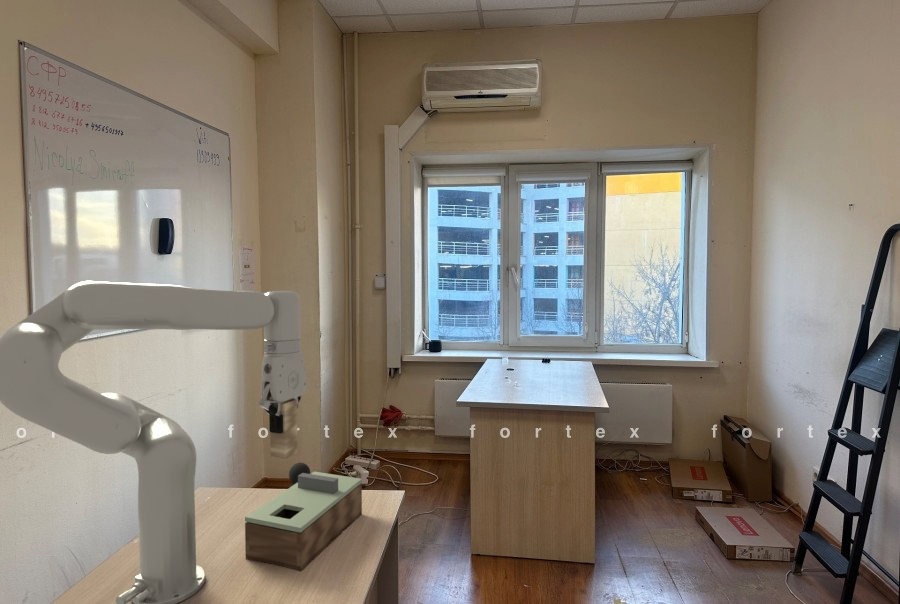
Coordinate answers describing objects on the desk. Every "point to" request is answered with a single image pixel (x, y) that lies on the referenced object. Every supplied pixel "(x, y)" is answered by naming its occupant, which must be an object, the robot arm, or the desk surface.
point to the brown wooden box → (301, 535)
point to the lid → (304, 501)
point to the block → (286, 432)
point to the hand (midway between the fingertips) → (283, 428)
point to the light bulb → (297, 472)
